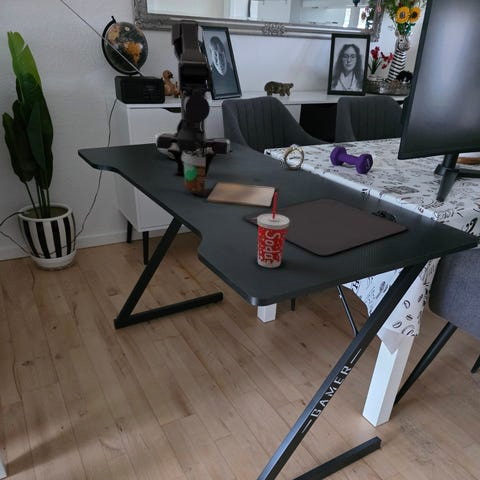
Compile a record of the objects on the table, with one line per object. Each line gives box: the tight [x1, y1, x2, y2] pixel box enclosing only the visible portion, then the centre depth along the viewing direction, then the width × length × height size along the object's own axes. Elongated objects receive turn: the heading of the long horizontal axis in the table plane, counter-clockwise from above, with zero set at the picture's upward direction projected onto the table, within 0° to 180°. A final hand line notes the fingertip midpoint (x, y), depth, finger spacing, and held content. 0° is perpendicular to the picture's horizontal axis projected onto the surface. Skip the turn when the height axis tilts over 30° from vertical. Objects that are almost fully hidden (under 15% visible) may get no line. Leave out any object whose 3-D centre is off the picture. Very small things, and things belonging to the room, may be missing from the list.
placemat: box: [206, 181, 276, 209], centre depth 126 cm, size 17×17×1 cm
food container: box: [181, 148, 206, 195], centre depth 121 cm, size 12×6×10 cm, turn 8°
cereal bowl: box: [154, 130, 177, 160], centre depth 156 cm, size 17×17×7 cm
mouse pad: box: [244, 198, 407, 257], centre depth 110 cm, size 32×27×1 cm
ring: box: [283, 143, 305, 170], centre depth 151 cm, size 7×3×8 cm, turn 100°
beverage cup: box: [257, 192, 290, 269], centre depth 86 cm, size 6×6×14 cm
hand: (193, 176), depth 123 cm, fingers closed on food container, 6 cm apart
